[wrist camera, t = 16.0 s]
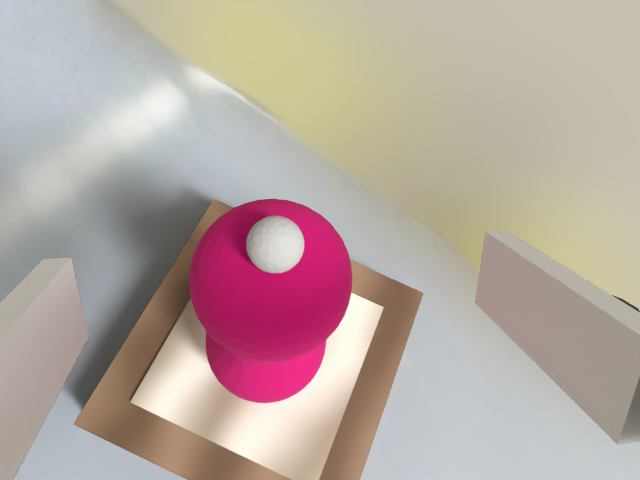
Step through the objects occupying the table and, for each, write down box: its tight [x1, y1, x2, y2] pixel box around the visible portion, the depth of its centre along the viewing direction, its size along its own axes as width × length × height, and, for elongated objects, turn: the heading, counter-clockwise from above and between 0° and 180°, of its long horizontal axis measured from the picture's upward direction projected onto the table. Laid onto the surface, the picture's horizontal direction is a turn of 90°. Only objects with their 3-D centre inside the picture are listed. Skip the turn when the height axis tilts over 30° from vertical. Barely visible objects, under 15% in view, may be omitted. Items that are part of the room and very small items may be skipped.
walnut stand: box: [74, 199, 423, 480], centre depth 33 cm, size 18×18×4 cm
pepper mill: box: [189, 199, 353, 403], centre depth 22 cm, size 7×7×20 cm
